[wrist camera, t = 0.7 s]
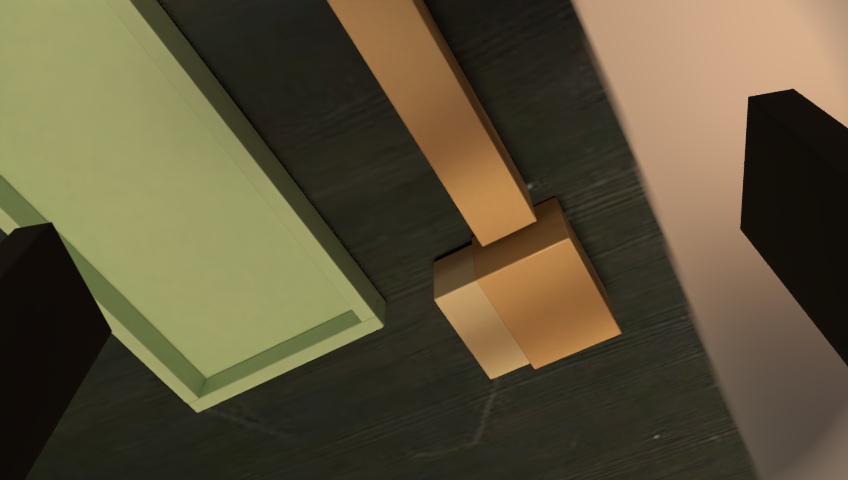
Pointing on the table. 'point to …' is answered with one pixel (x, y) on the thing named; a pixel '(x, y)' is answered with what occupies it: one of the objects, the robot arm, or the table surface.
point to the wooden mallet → (482, 204)
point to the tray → (167, 200)
